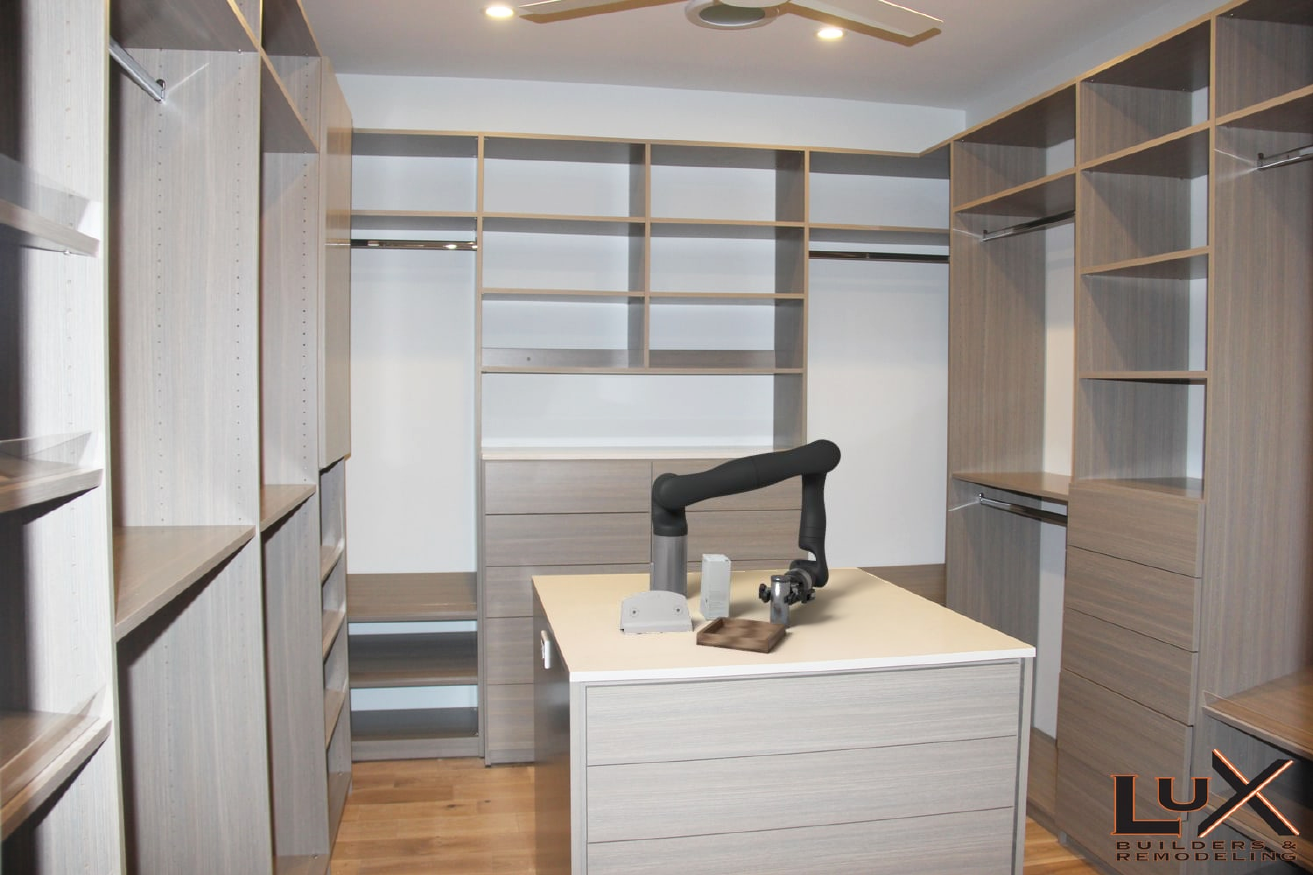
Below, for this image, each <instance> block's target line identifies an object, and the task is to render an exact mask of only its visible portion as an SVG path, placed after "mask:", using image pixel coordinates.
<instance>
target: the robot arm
mask: <svg viewBox="0 0 1313 875" xmlns="http://www.w3.org/2000/svg"><path fill="white" fill-rule="evenodd" d="M841 458H842V452H841V450H840V447H839V446H838V445H837V444H836V443H835V442H834V441H831V440H829V439H823V438H822V439H816V440H814V441H812V442H810V443H806V444H804V445H800V446H798V447H795V448H791V449H787V450H781V451H772V452H771V451H770V452H764V453H758V454H753V455H747V456H742V457H738V458H736V459H734V458H733V459H732V460H729V461H726V462H724V463H721V464H719V465H717V466H715V467H713V468H711V469H708V470H706V471H705V470H704V471H701V472H695V473H689V474H688V473H687V474H679V475H678V474H676V473H673V472H665V473H663V474H660V475H659V476H657V477H656V478H655V480H654V481H653V484H652V486H651V522H652V523H651V524H652V561H651V562H650V563H649V591H669V592H674V593H677V594H681V595H683V596H685V597H686V599H687V598H688V555H689V554H688V550H689V548H688V544H689V540H688V538H689V536H688V535H689V527H688V526H689V525H688V521H687V515H686V507H689V506H692V505H694V504H697V503H700V502H704V501H706V500H710V499H714V498H721V497H727V496H733V495H739V494H742V493H749V492H753V491H756V490H760V489H764V488H767V487H769V486H773V485H776V484H778V483H781V482H783V481H786V480H789V479H791V478H795V477H799V476H801V509H800V510H801V511H800V521H799V529H798V541H797V543H798V544H797V545H798V548H799V549H801V550H802V551H805V552H809V553H812V554H813V556H814V558H815V560H812V559H811V560H810V559H801V558H799V559H798V558H796V559H794V560H792V561H791V563H790V564H789V567H788V571H786V572H785V573H784V574H782V575H787V576H790V595H789V597H788V605H789V607H790V606H793V605H795V604H799V603H800V602H801V604H807V603H810V602H812V601H814V600H815V599H816V589H815V588H817V589H821V588H824V587H826V585H827V584H828V581H829V578H830V574H829V573H830V572H829V567H828V562H827V557H826V546H825V544H826V533H827V513H826V504H825V503H826V502H825V486H826V480H827V475H828V473H830V472H832V471H833V470H836V468H837V467H838V465H839V464H840V461H841ZM758 599H760V600H761V601H762V602H763V603H764V604H767V603H768V602H771V586H768V585H766V584H765V583H760V584H759V587H758Z"/></svg>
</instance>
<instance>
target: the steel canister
mask: <svg viewBox="0 0 1313 875" xmlns="http://www.w3.org/2000/svg"><path fill="white" fill-rule="evenodd" d="M770 587H771V600H770V608H769V609H770V611H769V615H770V616H769V620H770V621H769V622H773V623H782V624H786V630H788V629H789V628H790V627H789V626H790V605H788V597H789V595H790V576H787V575H783V574H772V575H770Z"/></svg>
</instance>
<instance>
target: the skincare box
mask: <svg viewBox="0 0 1313 875" xmlns="http://www.w3.org/2000/svg"><path fill="white" fill-rule="evenodd" d="M701 558H702V561H701V580H700V581H701V582H700V599H699V600H700V601H699V602H700V603H699V613H700V614H702V616H703V618H704V619H705V620H706V621H714V620H715V619H716V618H718V617H719V616H720V617H729V618H730V599H731V598H730V596H731V580H732V577H731V576H732V561H731V560H730V559H729V557H728V556H726V555H725V554H722V553H720V554H719V553H715V554H714V553H710V554H708V553H703V554H702V556H701Z"/></svg>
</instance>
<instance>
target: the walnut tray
mask: <svg viewBox="0 0 1313 875" xmlns="http://www.w3.org/2000/svg"><path fill="white" fill-rule="evenodd" d="M786 633H787V629H786V624H782V623H773V622H770V621H763V620H753V619H745V618H735V617H730V616H729V617H720V616H719V617H718V618H716V619H715V620H711V622H710V623H708V624H707V625H706V626H704V627H703V628H702V629H700V630H699V631H698V632H696V638H695V640H696V641H695V642H696V643H695V644H696V646H704V647H705V646H706V647H712V646H713V648H719V649H720V648H721V649H729V650H738V651H745V652H754V653H760V654H769V653H770V651H772V650H773V648H774V647H775V646H777V645H778V643H779V642H780V641H781V640H782V639H783V638H785V636H786V635H787V634H786Z"/></svg>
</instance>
